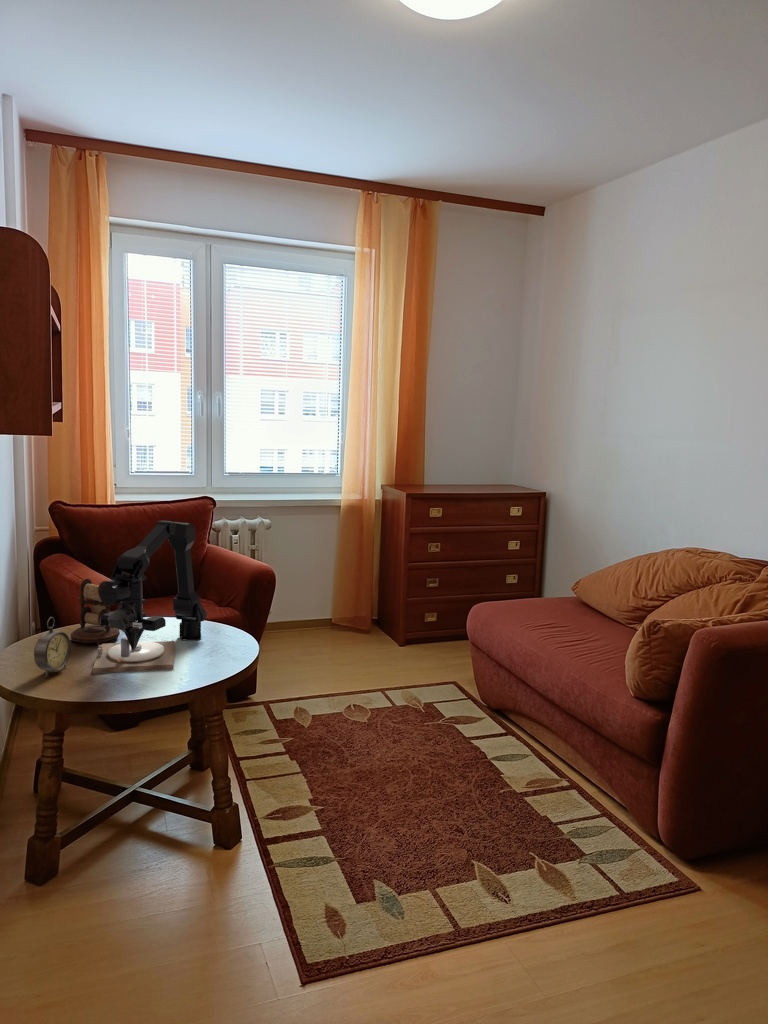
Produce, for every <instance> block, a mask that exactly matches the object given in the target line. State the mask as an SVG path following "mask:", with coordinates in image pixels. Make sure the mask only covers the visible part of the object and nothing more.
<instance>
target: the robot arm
mask: <svg viewBox="0 0 768 1024" xmlns="http://www.w3.org/2000/svg"><path fill="white" fill-rule="evenodd" d="M195 528H196V527H195V525H193V524H192V523H188V522H180V521H179V522H178V521H169V520H158V521H157V522H156V524H155V526H154V527H153V529H152V530H151V531H149V533H148V534H147V535H146V536H145V537H144V538H143V539H142V540H141V541H140V542H139V544H138V545H137V546H136V547H134V548H130V549H128V550H126V551H125V552H123V553H122V554H121V555H120V556H119V557H118V559H117V561H116V564H115V566H114V567H113V570H112V573H111V576H110V577H109V580H105V581H106V586H104V587H103V588H102V589H101V591H100V599H101V601H102V602H103V603H104V604H105V605H108V606H111V607H112V606H113V605H117V604H118V607H117V609H115V610H114V611H110V612H109V613H106V614H104V615H102V616H101V618H100V624H101V625H106V626H109V625H110V628H118V629H119V631H121V632H123V633H124V635H125V638H127V639H128V641H129V644H130V646H131V649H132V650H134V649H135V648H136V646H137V644H138V641H140V639H141V637H142V634H143V633H144V631H149V632H156V631H158V630H160V629H163V628H164V627H166V622H167V621H166V619H165V617H164V616H155V615H152V616H150V617H147V618H145V617H146V615H147V613H146V612H144V607H143V605H144V604H146V599H145V598H143V581H145V580H147V576H146V575H144V573H145V572H146V570H147V569H148V567H149V566H150V559H151V557H152V556H153V555H154V554H155V552H156V551H157V550H159V548H160V547H161V546H162V545H163V544H164V542H165V541H166V540H168V543H169V545H170V546H171V548H172V549H173V550H174V556H175V557H174V558H175V567H176V568H175V569H176V579H177V592H178V593H177V594H176V596H175V597H174V598H172V604H173V609H172V610H173V611H174V614H175V619H176V620H180V621H181V622H179V637H180V640H181V639H195V640H202V622H205V620H206V619H207V615H208V612H207V611H206V609H204V607H203V606H202V602H201V598H200V596H199V594H197V592H196V590H195V585H194V583H195V582H194V575H193V574H194V573H193V561H192V551H191V549H192V546H193V545H194V543H195V542H196V529H195Z"/></svg>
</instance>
